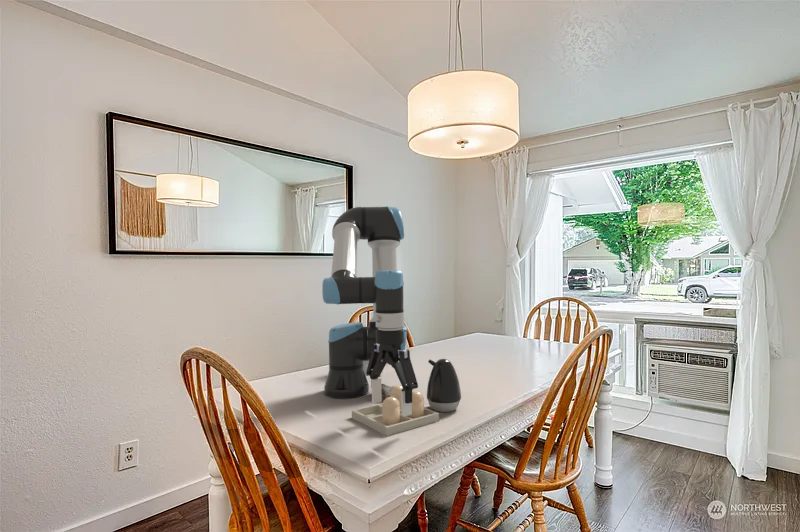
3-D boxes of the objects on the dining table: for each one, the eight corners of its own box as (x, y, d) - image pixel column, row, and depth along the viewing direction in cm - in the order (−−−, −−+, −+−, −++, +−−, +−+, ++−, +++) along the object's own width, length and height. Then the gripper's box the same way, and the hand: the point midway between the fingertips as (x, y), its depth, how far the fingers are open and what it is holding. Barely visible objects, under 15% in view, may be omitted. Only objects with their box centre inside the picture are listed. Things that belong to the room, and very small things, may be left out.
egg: (379, 426, 118) (378, 396, 118) (393, 422, 121) (392, 393, 121) (389, 431, 114) (388, 400, 114) (403, 427, 117) (402, 397, 117)
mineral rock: (412, 402, 140) (412, 388, 140) (390, 407, 136) (390, 392, 136) (389, 392, 153) (389, 379, 153) (369, 395, 149) (368, 382, 149)
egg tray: (351, 419, 125) (351, 410, 125) (401, 406, 136) (401, 398, 136) (387, 437, 111) (386, 427, 111) (439, 422, 122) (439, 413, 122)
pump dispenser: (438, 402, 139) (438, 354, 139) (467, 408, 133) (467, 358, 133) (419, 411, 132) (418, 359, 132) (449, 418, 125) (448, 364, 125)
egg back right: (404, 419, 123) (403, 391, 123) (417, 415, 126) (416, 388, 126) (414, 423, 119) (414, 394, 119) (427, 420, 122) (427, 391, 122)
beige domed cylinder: (387, 411, 130) (386, 384, 130) (399, 408, 133) (399, 382, 133) (396, 415, 126) (395, 388, 126) (409, 412, 129) (408, 385, 129)
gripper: (353, 325, 126) (354, 400, 126) (407, 335, 106) (408, 424, 106) (375, 322, 130) (376, 395, 130) (431, 332, 110) (432, 418, 110)
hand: (391, 408), depth 118 cm, fingers open, 13 cm apart
